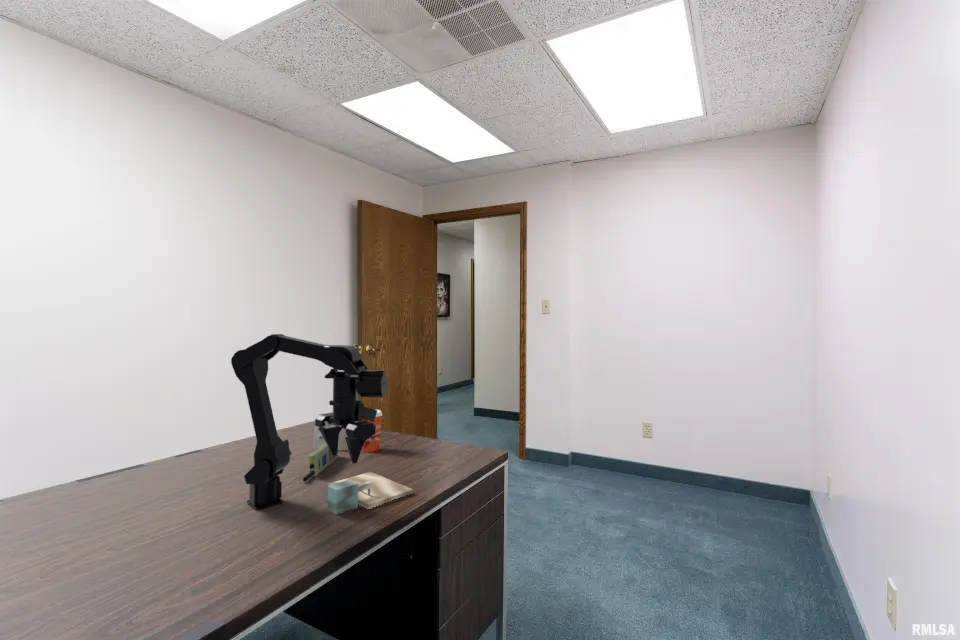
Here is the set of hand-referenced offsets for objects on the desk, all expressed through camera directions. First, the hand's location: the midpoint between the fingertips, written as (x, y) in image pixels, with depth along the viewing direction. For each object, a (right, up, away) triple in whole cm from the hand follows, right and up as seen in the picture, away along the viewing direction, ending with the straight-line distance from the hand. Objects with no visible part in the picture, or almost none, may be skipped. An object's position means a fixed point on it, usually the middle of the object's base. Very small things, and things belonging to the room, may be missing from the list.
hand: (344, 459), depth 112 cm
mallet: (+2, -12, +1) cm, 12 cm away
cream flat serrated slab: (+4, -12, +11) cm, 17 cm away
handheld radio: (-16, -12, +28) cm, 35 cm away
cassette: (-21, -12, +49) cm, 55 cm away
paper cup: (-5, -12, +49) cm, 50 cm away
